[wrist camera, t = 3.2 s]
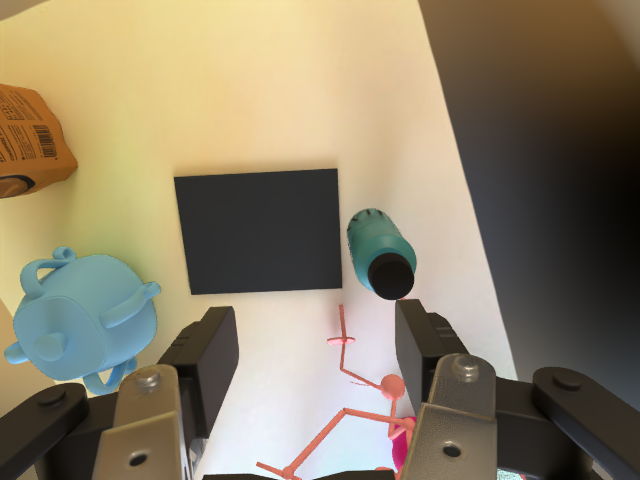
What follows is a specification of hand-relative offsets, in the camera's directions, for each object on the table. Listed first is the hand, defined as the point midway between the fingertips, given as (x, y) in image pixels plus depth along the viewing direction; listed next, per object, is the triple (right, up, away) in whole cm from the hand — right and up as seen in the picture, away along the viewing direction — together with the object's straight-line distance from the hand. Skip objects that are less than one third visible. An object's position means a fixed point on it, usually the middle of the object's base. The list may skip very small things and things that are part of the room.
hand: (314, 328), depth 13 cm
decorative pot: (-31, -6, +43) cm, 53 cm away
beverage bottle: (+7, +5, +40) cm, 41 cm away
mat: (-8, +4, +40) cm, 41 cm away
